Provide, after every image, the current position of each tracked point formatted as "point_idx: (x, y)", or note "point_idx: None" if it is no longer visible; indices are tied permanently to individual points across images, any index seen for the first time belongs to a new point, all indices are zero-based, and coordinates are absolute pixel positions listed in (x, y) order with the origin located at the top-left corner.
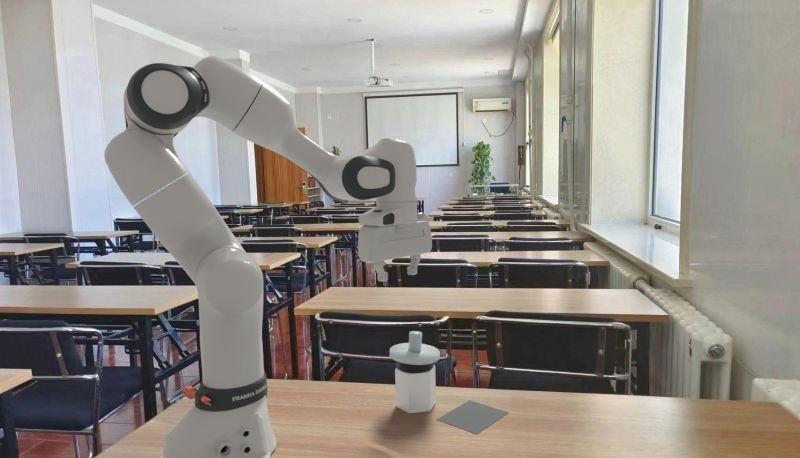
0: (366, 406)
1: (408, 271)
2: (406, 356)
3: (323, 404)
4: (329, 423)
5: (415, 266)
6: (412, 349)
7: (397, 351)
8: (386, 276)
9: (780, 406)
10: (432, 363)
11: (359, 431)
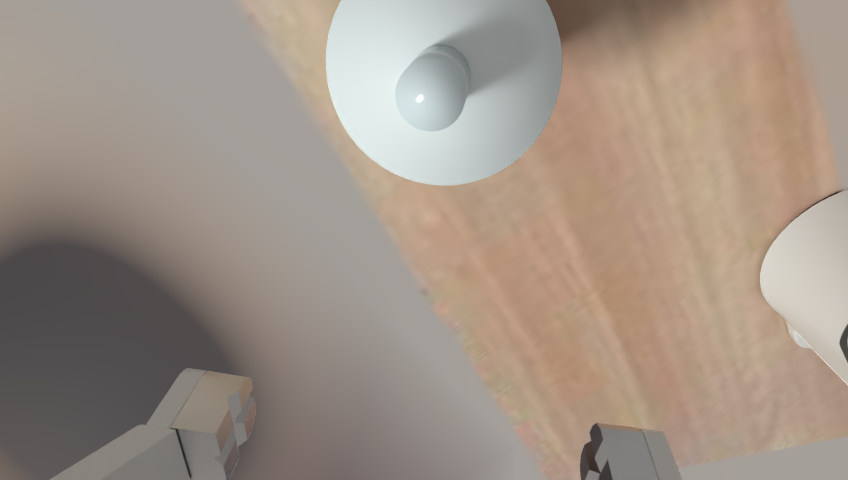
0: (520, 159)
1: (241, 432)
2: (536, 56)
3: (564, 255)
4: (655, 175)
5: (170, 433)
6: (469, 72)
7: (504, 128)
8: (630, 457)
9: None
10: None
11: (668, 76)
